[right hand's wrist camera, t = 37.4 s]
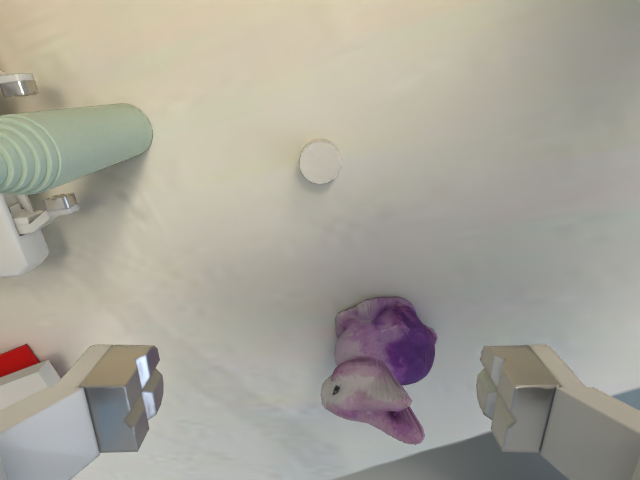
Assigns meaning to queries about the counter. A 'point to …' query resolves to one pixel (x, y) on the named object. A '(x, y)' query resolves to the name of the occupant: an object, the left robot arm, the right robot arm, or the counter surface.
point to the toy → (23, 376)
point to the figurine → (380, 366)
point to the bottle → (67, 144)
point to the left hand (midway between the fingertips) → (53, 146)
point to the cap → (320, 161)
